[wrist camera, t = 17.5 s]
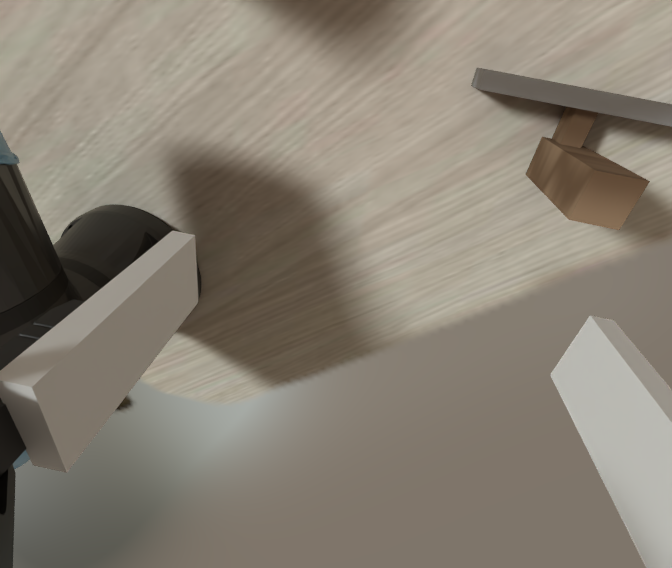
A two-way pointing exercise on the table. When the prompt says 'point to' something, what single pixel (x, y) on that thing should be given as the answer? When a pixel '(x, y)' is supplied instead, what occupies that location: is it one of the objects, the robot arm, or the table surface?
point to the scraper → (580, 147)
